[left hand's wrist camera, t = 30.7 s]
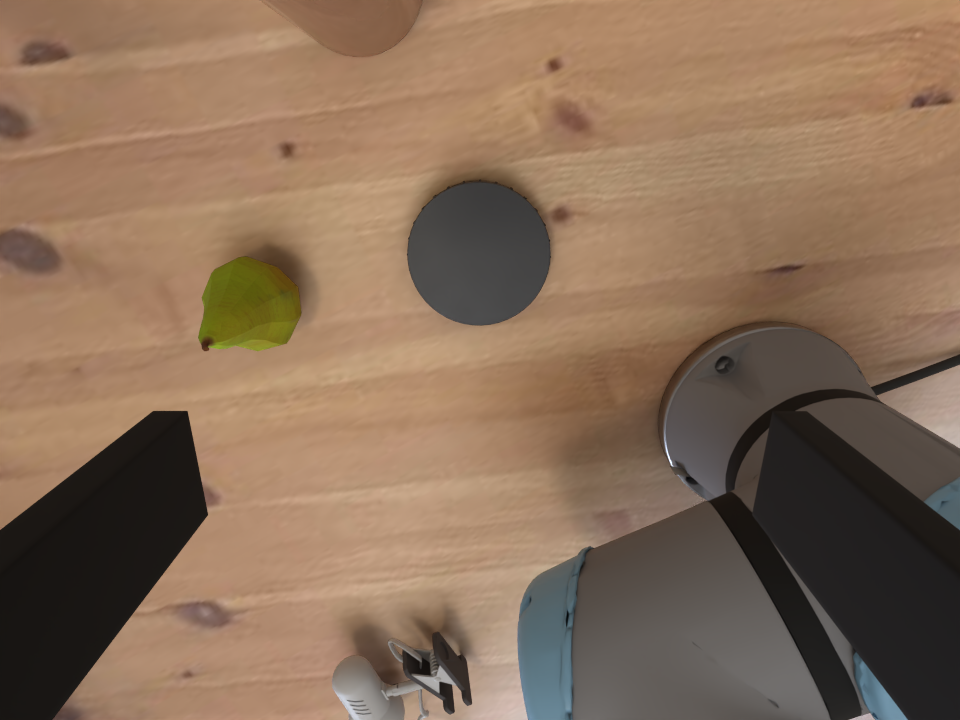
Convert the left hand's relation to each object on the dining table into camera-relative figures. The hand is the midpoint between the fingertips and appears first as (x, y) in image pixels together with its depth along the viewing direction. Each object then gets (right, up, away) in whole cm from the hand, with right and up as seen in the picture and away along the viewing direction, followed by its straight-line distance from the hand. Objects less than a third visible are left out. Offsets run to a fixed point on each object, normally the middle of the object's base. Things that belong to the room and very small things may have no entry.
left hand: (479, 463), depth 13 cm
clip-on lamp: (-6, -30, +42) cm, 51 cm away
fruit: (-15, +7, +28) cm, 33 cm away
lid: (0, +10, +26) cm, 27 cm away
